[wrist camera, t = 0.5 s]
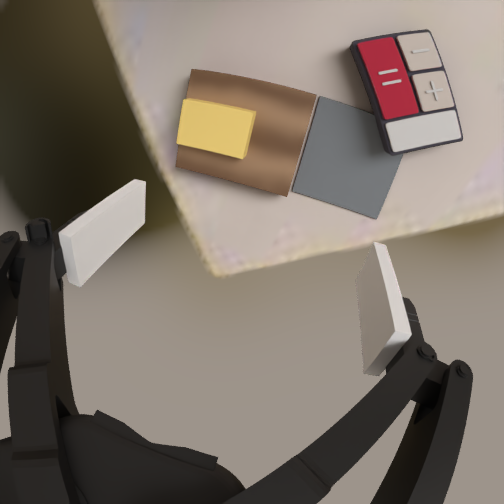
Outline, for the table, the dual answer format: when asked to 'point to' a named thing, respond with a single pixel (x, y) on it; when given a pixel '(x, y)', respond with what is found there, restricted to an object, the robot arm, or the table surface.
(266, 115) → the brown wooden slab
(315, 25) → the table surface
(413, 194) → the table surface
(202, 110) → the butter yellow block
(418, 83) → the calculator
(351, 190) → the mat
